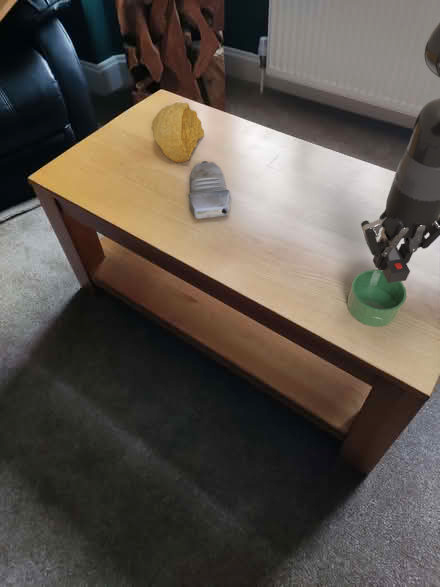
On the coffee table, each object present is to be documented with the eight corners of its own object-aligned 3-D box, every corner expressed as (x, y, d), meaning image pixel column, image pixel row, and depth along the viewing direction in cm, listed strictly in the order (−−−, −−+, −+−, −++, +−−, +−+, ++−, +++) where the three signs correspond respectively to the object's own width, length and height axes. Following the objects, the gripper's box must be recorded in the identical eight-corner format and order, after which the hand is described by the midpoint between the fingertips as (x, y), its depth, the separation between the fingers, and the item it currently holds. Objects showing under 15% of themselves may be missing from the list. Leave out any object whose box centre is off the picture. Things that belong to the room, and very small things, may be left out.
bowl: (387, 283, 84) (394, 266, 80) (406, 322, 79) (415, 306, 75) (340, 290, 84) (345, 273, 80) (356, 330, 78) (362, 314, 74)
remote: (372, 252, 74) (376, 241, 72) (389, 249, 74) (393, 239, 72) (388, 283, 70) (392, 272, 68) (405, 280, 70) (410, 270, 68)
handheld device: (223, 165, 110) (223, 150, 106) (233, 219, 97) (233, 204, 94) (186, 169, 109) (184, 154, 106) (191, 224, 97) (189, 208, 93)
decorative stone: (132, 143, 113) (152, 116, 100) (162, 109, 119) (185, 78, 106) (169, 178, 117) (194, 156, 104) (197, 143, 123) (223, 117, 110)
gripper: (383, 205, 56) (356, 288, 69) (487, 191, 56) (439, 276, 70) (363, 170, 60) (341, 254, 74) (459, 158, 61) (419, 243, 75)
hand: (389, 264), depth 72 cm, fingers closed on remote, 3 cm apart
